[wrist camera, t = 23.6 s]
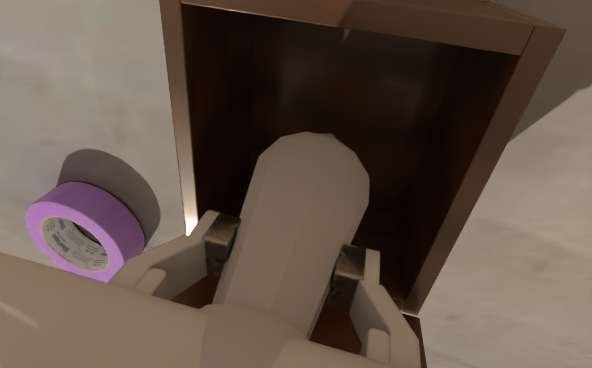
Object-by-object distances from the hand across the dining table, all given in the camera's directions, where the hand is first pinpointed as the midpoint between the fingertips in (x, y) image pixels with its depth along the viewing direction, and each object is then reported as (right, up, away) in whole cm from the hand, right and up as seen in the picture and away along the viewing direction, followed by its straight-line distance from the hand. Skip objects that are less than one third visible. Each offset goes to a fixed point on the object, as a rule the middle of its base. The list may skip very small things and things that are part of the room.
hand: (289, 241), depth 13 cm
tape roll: (-23, -2, +26) cm, 34 cm away
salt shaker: (+1, +3, +5) cm, 7 cm away
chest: (+3, +8, +12) cm, 14 cm away
